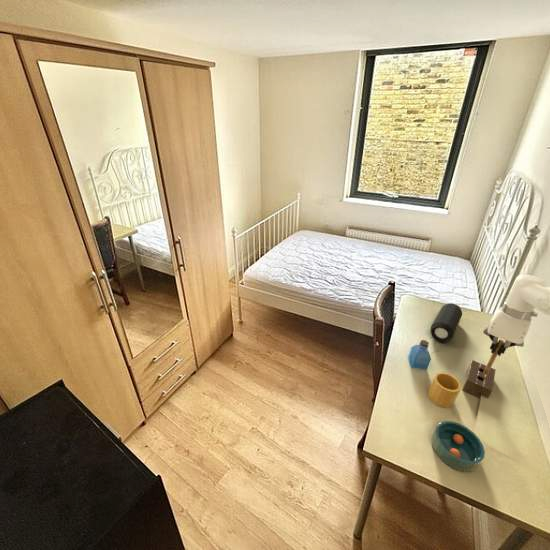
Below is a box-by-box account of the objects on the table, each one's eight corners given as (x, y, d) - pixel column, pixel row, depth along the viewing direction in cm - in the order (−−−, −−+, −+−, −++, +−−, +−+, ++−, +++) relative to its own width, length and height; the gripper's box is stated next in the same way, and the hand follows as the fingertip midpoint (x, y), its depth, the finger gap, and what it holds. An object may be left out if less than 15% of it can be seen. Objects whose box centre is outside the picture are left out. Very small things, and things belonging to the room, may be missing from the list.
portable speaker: (448, 347, 136) (455, 330, 132) (426, 338, 142) (432, 321, 137) (459, 321, 154) (465, 306, 149) (439, 314, 159) (444, 298, 154)
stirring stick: (487, 373, 110) (504, 340, 103) (487, 375, 109) (503, 342, 102) (483, 371, 111) (499, 339, 104) (482, 373, 110) (498, 341, 103)
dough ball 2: (459, 455, 92) (462, 450, 91) (457, 463, 90) (460, 458, 89) (448, 449, 94) (451, 444, 92) (446, 457, 92) (449, 451, 90)
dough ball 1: (462, 441, 96) (465, 435, 95) (460, 448, 94) (464, 442, 93) (452, 435, 98) (455, 430, 96) (450, 442, 96) (453, 437, 94)
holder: (490, 379, 120) (495, 369, 117) (486, 401, 111) (492, 391, 108) (467, 370, 124) (472, 359, 121) (462, 390, 115) (467, 379, 112)
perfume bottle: (411, 367, 125) (419, 346, 119) (408, 357, 130) (414, 336, 124) (426, 369, 124) (435, 348, 118) (422, 359, 129) (430, 338, 124)
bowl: (481, 447, 95) (487, 437, 93) (475, 482, 86) (481, 473, 83) (436, 422, 103) (440, 413, 100) (426, 453, 93) (431, 444, 91)
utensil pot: (455, 396, 112) (463, 380, 108) (450, 412, 106) (459, 395, 102) (431, 384, 117) (437, 368, 113) (425, 399, 111) (432, 383, 107)
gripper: (546, 314, 95) (522, 356, 104) (489, 297, 103) (472, 338, 112) (547, 325, 90) (522, 368, 98) (487, 307, 98) (469, 348, 107)
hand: (495, 352), depth 105 cm, fingers closed on stirring stick, 1 cm apart
